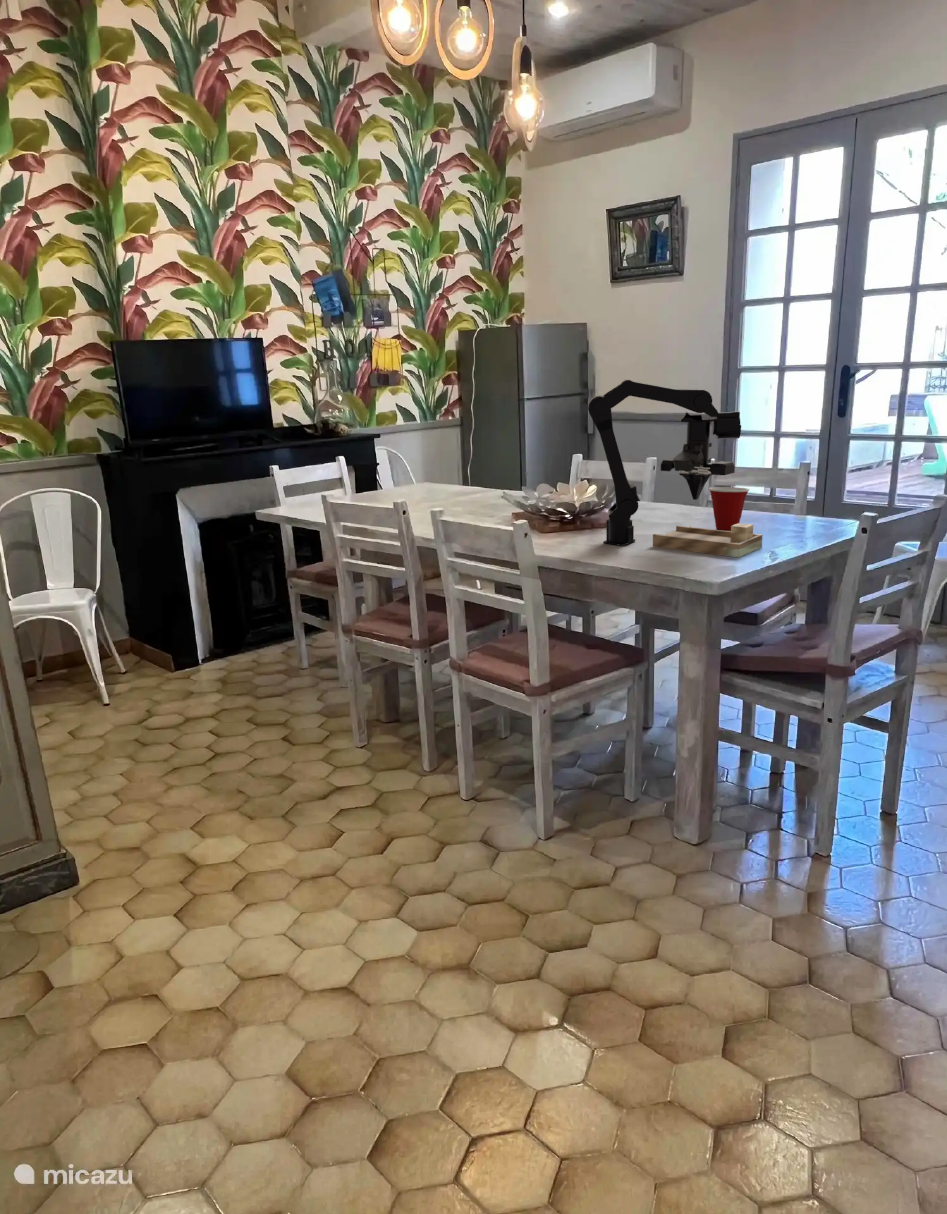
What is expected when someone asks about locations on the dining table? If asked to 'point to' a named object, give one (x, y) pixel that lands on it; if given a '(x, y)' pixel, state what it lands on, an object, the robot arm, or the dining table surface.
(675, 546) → the wooden tray box
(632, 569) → the dining table surface
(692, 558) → the dining table surface
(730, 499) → the plastic cup
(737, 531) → the block
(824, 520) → the dining table surface
